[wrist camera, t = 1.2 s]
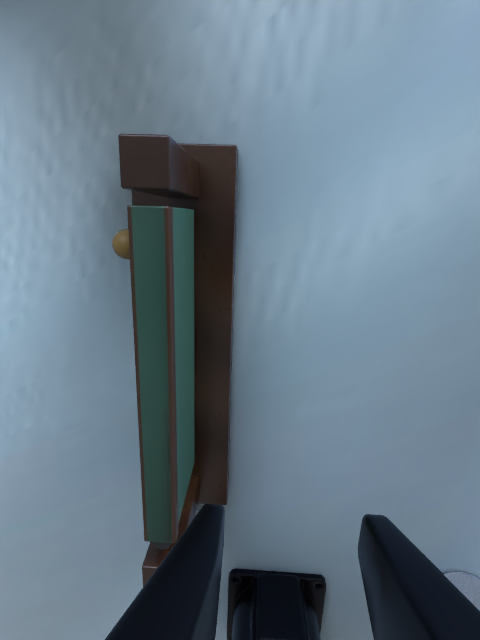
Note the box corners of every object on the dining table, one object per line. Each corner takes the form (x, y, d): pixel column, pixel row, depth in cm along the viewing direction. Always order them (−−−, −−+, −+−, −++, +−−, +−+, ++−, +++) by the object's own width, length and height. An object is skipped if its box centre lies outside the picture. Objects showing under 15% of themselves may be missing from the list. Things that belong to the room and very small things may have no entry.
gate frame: (228, 493, 23) (215, 607, 16) (150, 488, 23) (106, 599, 16) (238, 148, 17) (225, 106, 11) (135, 145, 18) (60, 102, 11)
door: (196, 473, 21) (176, 557, 16) (145, 470, 21) (109, 552, 16) (196, 209, 17) (168, 206, 12) (133, 207, 17) (78, 203, 12)
